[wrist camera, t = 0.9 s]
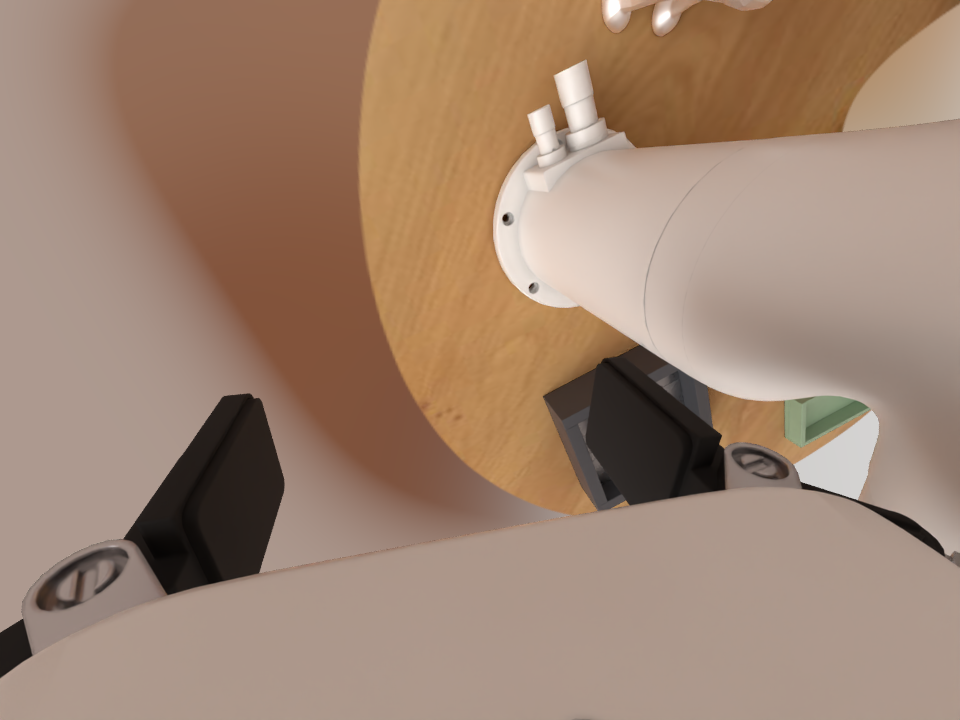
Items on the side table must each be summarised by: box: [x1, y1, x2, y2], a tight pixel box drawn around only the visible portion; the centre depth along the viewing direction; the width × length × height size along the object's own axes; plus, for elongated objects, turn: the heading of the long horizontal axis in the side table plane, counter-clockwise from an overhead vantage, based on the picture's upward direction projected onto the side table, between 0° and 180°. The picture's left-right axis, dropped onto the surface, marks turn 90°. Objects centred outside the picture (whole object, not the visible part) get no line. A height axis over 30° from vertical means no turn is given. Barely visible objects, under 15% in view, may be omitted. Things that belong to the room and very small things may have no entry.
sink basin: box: [543, 345, 713, 511], centre depth 38 cm, size 13×13×4 cm
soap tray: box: [785, 396, 871, 447], centre depth 46 cm, size 10×7×2 cm
